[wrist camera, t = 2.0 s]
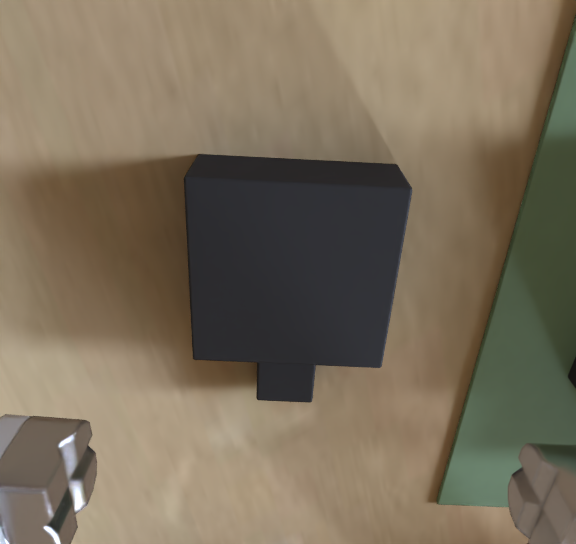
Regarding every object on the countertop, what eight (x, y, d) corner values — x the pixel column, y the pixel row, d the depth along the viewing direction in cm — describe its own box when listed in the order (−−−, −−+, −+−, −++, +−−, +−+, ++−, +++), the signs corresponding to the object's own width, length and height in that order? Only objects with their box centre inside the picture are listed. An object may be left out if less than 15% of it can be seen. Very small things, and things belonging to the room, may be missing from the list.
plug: (201, 146, 16) (183, 176, 13) (393, 156, 16) (413, 188, 13) (208, 363, 20) (195, 418, 17) (361, 369, 20) (371, 426, 17)
